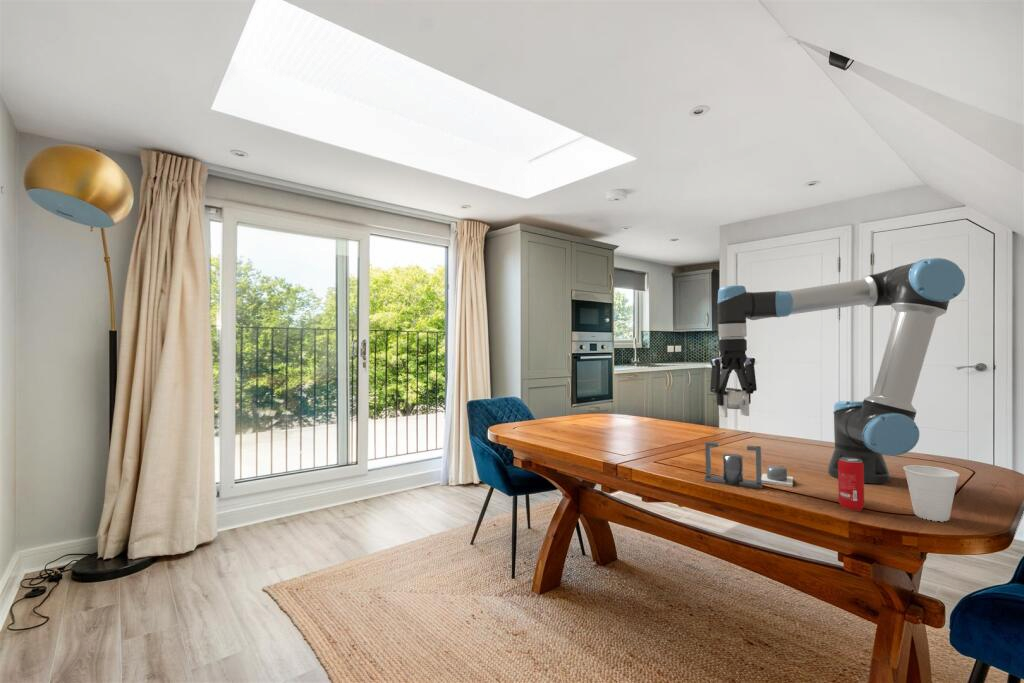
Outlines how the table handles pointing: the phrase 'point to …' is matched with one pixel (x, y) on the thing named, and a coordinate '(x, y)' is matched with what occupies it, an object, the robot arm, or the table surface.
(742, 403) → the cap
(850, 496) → the beverage can
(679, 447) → the table surface
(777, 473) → the stand
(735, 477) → the gray u-shaped frame
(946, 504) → the cup
